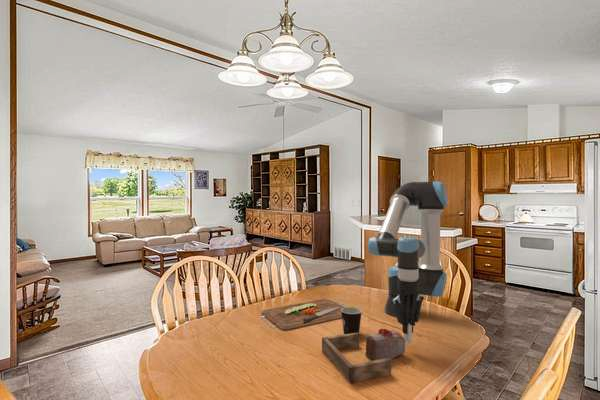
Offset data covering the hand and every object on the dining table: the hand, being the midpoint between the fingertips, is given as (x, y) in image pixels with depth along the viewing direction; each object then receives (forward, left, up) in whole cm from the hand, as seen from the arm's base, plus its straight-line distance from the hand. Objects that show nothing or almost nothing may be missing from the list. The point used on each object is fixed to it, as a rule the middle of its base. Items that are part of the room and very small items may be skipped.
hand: (407, 341), depth 127 cm
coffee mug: (+11, -23, -4) cm, 26 cm away
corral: (+22, 0, -4) cm, 23 cm away
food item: (+10, 0, -4) cm, 11 cm away
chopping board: (+21, -50, -5) cm, 55 cm away
